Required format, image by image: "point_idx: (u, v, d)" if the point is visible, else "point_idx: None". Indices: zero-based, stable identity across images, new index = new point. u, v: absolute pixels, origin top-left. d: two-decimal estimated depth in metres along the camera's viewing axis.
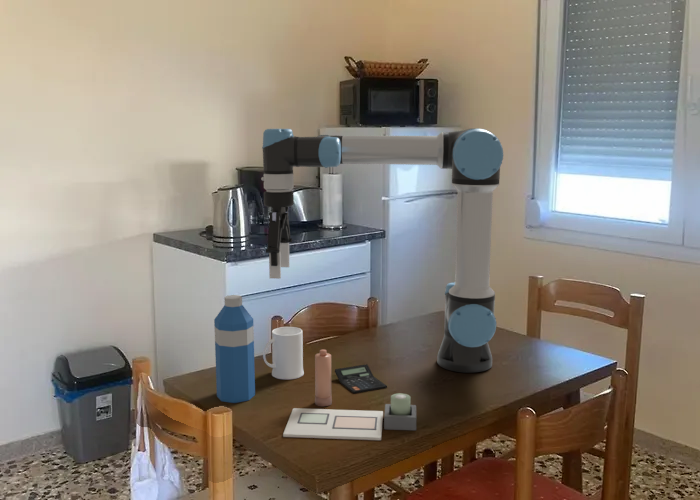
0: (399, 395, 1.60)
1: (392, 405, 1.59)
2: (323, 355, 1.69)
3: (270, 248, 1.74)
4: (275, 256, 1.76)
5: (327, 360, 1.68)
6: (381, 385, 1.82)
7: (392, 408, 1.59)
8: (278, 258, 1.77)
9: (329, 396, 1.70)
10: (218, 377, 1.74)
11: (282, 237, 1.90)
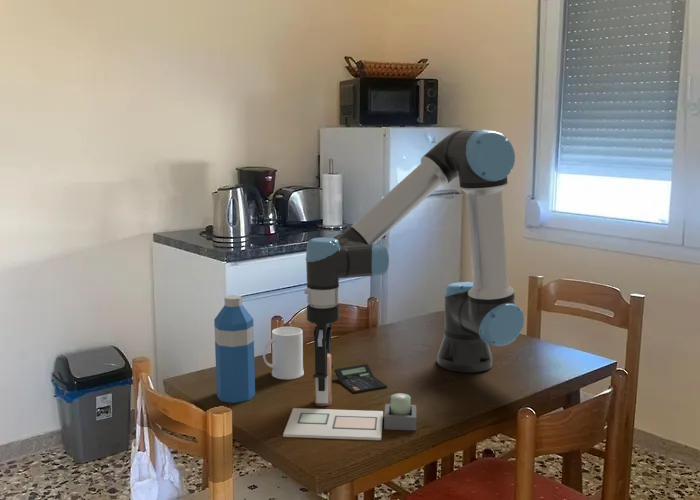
0: (399, 395, 1.60)
1: (392, 405, 1.59)
2: None
3: (318, 374, 1.65)
4: (323, 381, 1.67)
5: (327, 360, 1.68)
6: (381, 385, 1.82)
7: (392, 408, 1.59)
8: (326, 382, 1.68)
9: (329, 396, 1.70)
10: (218, 377, 1.74)
11: None
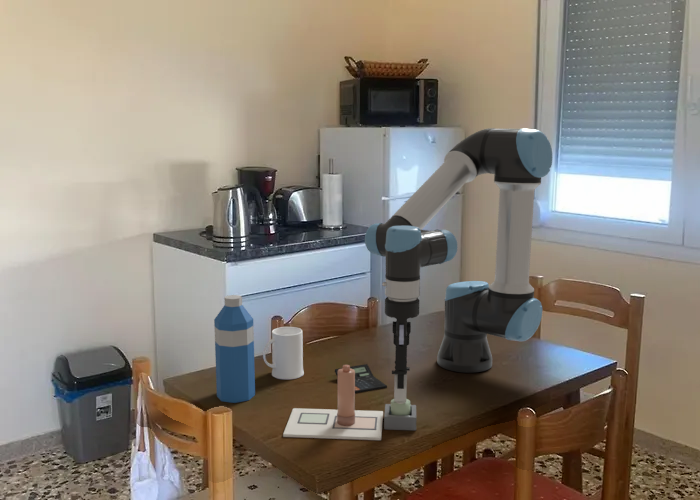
0: None
1: (392, 409, 1.59)
2: (346, 371, 1.56)
3: (398, 371, 1.55)
4: (402, 378, 1.57)
5: (351, 376, 1.56)
6: (381, 385, 1.82)
7: (392, 413, 1.59)
8: (405, 380, 1.58)
9: (353, 415, 1.58)
10: (218, 377, 1.74)
11: None
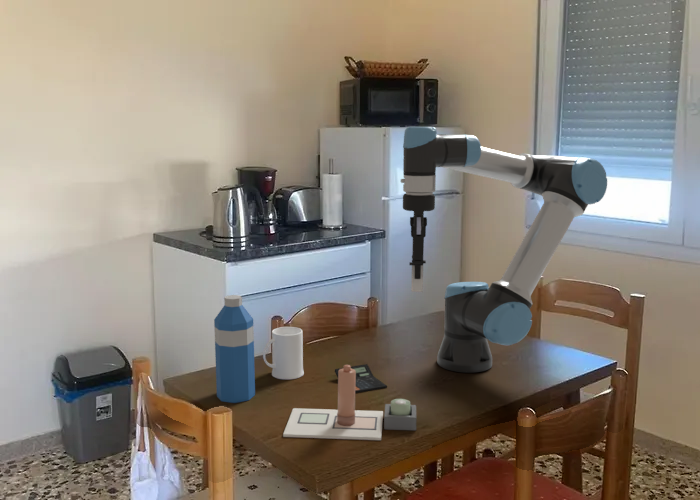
0: (399, 400, 1.60)
1: (392, 410, 1.59)
2: (347, 371, 1.56)
3: (416, 261, 1.67)
4: (419, 269, 1.69)
5: (352, 376, 1.56)
6: (381, 385, 1.82)
7: (392, 413, 1.59)
8: (421, 271, 1.70)
9: (353, 415, 1.58)
10: (218, 377, 1.74)
11: None
